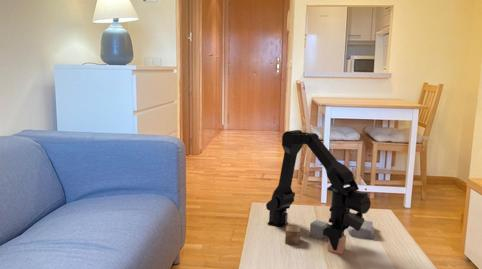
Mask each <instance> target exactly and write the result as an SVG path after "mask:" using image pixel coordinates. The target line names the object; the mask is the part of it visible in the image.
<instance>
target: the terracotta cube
mask: <svg viewBox="0 0 482 269" xmlns="http://www.w3.org/2000/svg"><path fill="white" fill-rule="evenodd" d="M327 240H328V243H327V252H331V253H335V254H339V255H343V253H344V251H345V250H346V240H347V235H346V234H344V235H343V237H342V238H341V239H339V243H338V247H337V250H333V248H332V246H331V243H330V241H329V239H327Z"/></svg>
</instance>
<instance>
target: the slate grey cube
mask: <svg viewBox="0 0 482 269" xmlns="http://www.w3.org/2000/svg"><path fill="white" fill-rule="evenodd" d="M328 224H329V222H327V221H322V220H320V219H315V220H314V221H312V222H311V223H310V225H309V226H310V227H309V237H313V238H316V239H319V240H323V239H324V238H326V237H327V236H324V235H323V229H324V228H325V226H327V225H328Z"/></svg>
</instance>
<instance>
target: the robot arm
mask: <svg viewBox="0 0 482 269" xmlns="http://www.w3.org/2000/svg"><path fill="white" fill-rule="evenodd" d="M304 145H306V146H307V147H308V148H309V150H310V151H311V152H312V153H313V154H314V156H315V158H317V160H318V161H319V163H321V165H322V166H323V168H324V169H325V172H326V173H325V174H326V176H327V178H328V181H329V183H330V184H331V185H329V186H328V187H327V188H326V190H327V191H331V203H330V207H329V212H330V215H329V218H328V225H327V226H325V228H324V229H323V235H324V236H326V237H327V238H328V239H329V241H330V243H331V246H332V248H333V250H337V247H338V243H339V239H341V238H342V237H343V235H345V231H346V230H348V229H347V228H348V227H349V226H350V227H352V228H354V229H355V230H357V231H359V230H360V228H361V227H362V225H363V223H364V221H365V220H366V219H365V218H364V215H366V214H367V213H368V212H369V210H370V208H371V204H372V203H371V198H370V197H369V196H368V195H369V194H368V192H366V191H360V190H359V189H360V187H359V186H358V183H357V182H356V180H355V177H354V173H353V172H352V171H351V170H350V169H349V168H348V167H347V166H346V164H343V163H341V162H339V161H338V160H337V159H336V157H335V156H333V155H334V154H332V153H331V152H330V150H329V149H328V148H327V146H326V145H325V144H324V142H322V140H321V139H320V136H319V135H318V134H317V133H315V132H304V131H302V130H301V129H295V130H287V131H285V132H283V133H282V136H281V147H282V149H283V159H282V162H281V168H280V176H279V180H278V184H277V186H276V188H275V189H274V190H273V193H272V195H271V199H270V200H269V201H268V202H267V203H266V204H265V206H266V210H267V211H269V216H268V217H269V218H268V221H267V222H266V223H267V225H269V226H272V227H279V228H283V227H284V226H285V225H286V224H287V223H288V215H289V214H288V212H287V209H290V208H291V205H292V204H293V203H295V196H296V192H294V191H293V189H292V182H293V178H294V174H295V173H294V172H295V169H296V167H295V166H296V162H297V157H298V154H299V152H300V150H302V148H303V146H304ZM351 211H355V212H351ZM328 239H327V240H328Z"/></svg>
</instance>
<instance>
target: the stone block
mask: <svg viewBox="0 0 482 269" xmlns="http://www.w3.org/2000/svg"><path fill="white" fill-rule="evenodd" d="M364 220H365V221H364V223H363V225H362V227H361V228H360V230H359V231H357V230H355V229H354V228H352V227H350V226H349V227H348V228H347V229H346V230H347V233H348V234H349V236H350V237H351V238H356V237H357V239H370V240H374V238H375V236H374V235H375V227H374V225H373V221H372V220H366V219H364Z"/></svg>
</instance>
